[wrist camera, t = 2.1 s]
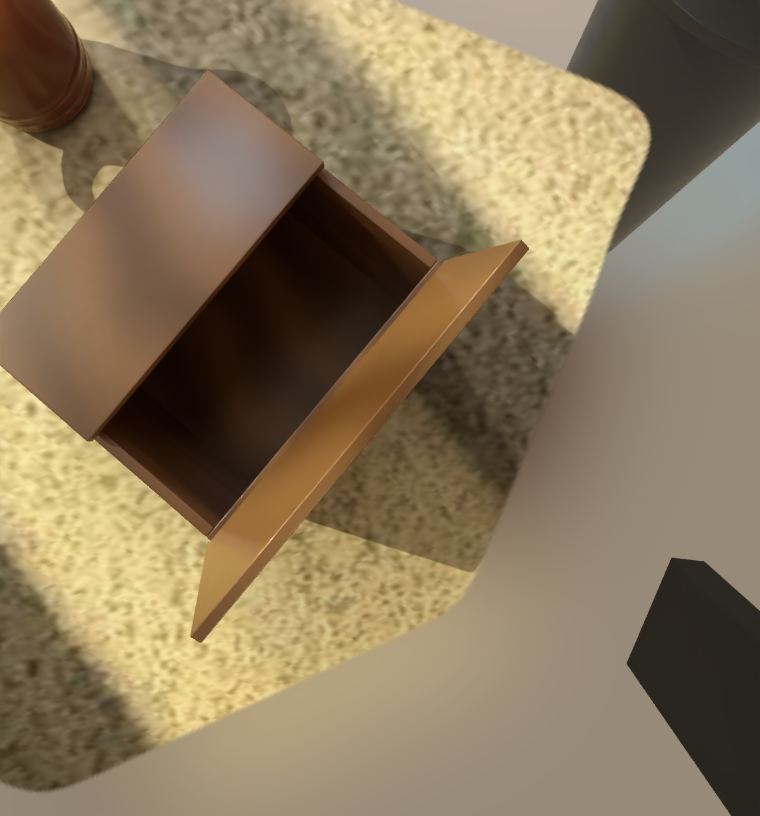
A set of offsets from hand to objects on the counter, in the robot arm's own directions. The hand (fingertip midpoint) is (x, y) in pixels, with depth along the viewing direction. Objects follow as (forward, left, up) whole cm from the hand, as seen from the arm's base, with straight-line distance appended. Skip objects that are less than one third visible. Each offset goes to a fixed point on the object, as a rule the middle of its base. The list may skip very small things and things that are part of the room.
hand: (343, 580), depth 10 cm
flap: (-2, -3, -8) cm, 9 cm away
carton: (-2, -10, -22) cm, 25 cm away
